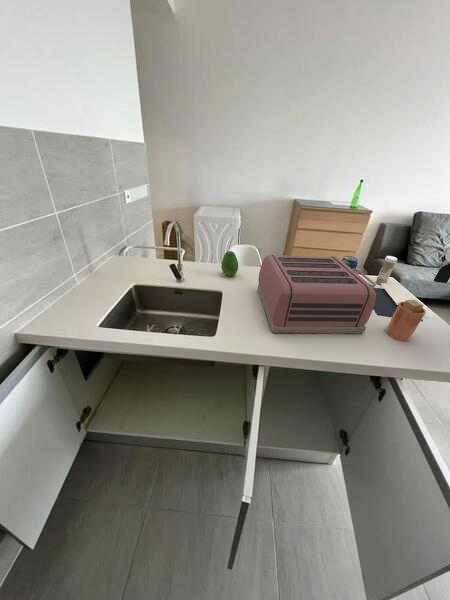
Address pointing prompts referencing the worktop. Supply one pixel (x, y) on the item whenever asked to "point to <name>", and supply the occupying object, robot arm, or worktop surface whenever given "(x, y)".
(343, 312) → the toaster
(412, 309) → the block
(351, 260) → the soda can
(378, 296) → the mat
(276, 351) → the worktop surface
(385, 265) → the sprinkles bottle
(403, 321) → the tumbler
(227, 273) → the fruit
